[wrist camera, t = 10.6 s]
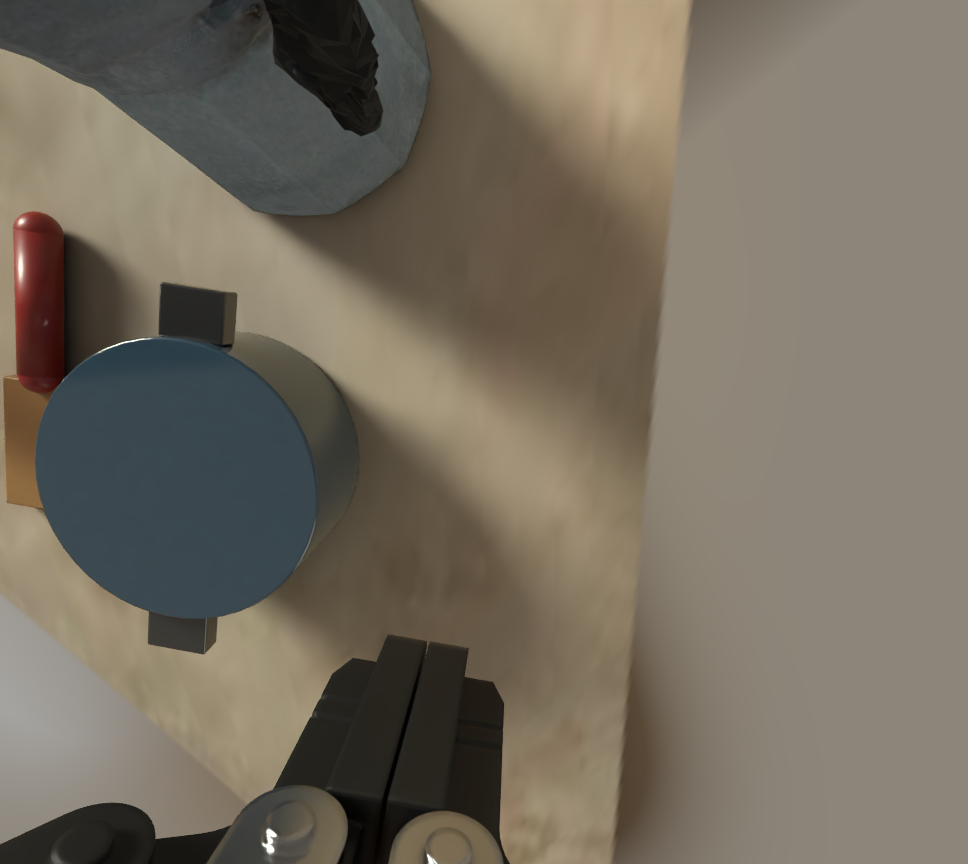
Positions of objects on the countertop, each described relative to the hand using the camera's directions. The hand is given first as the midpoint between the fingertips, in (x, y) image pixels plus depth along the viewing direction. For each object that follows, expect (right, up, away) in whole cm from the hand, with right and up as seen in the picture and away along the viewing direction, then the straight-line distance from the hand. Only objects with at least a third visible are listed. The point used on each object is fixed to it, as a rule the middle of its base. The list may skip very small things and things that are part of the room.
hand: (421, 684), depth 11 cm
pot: (-8, +4, +12) cm, 15 cm away
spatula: (-15, +7, +11) cm, 20 cm away
